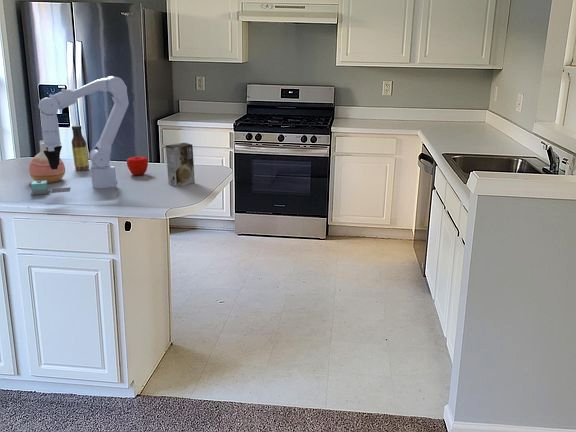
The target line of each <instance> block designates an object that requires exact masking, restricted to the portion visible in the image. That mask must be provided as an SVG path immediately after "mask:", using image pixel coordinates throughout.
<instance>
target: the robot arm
mask: <svg viewBox="0 0 576 432" xmlns="http://www.w3.org/2000/svg"><path fill="white" fill-rule="evenodd" d="M95 92H104V93H105V92H107V94H109V95H110V97H111V98H112V102H113V105H112V108H111V111H110V113H109V116H108V118H107V121H106V123H105V126H104V128H103V130H102V132H101V135H100V137H99V140H98V141H97V142H96V143H95V146H94V147H93V149H91V150H90V151H89V153H88V160H90V162H92V163H91V165H89V168H90V175H91V176H90V177H91V185H92V186H91V187H92V188H93V189H107V188H115V190H116V191H117V190H118V179H117V174H116V166H115V165H113V166H112V165H110V161H111V158H110V157H111V153H112V146H113V143H114V141H115V139H116V136H117V134H118V131H119V128H120V126H121V124H122V121H123V119H124V117H125V114H126V112H127V110H128V107H129V105H130V104H129V103H130V102H129V97H128V96H129V95H128V86H127V85H126V84H125V81H124V79H122V78H121V77H118V76H114V75H108V76H107V77H102V78H100V79H99V78H98V79H96V80H93V81H91V82H89V83H87V84H85V85H82V86H81V87H78V88H76V89H71V88H66V89H65V88H61V91H59V92H57V93H55V94H52V93H51V94H49V95H48V96H49V97H44V98H41V99H40V100H39V102H38V106H37V107H38V109H39V111H40V117H41V118H40V122H41V129H42V137H43V140H44V143H41V145H44V146H46V149H47V150H44V154H45V155H46V157H47V159H48V161H49V164H50V167H51V169H57V168H58V165H59V161H60V159H61V158H60V157H61V156H60V155H61V151H62V147H63V145H62V142H61V136H60V128H59V127H60V126H59V120H58V116H57V111H58V110H59V111H60V110H64V109H65V108H68V107H70V106H73V105H75V104H76V103H77V100H78V99H80V98H83V97H86V96H88V95H90V94H93V93H95Z"/></svg>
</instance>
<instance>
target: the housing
mask: <svg viewBox="0 0 576 432" xmlns="http://www.w3.org/2000/svg"><path fill="white" fill-rule="evenodd" d="M48 185H49V183H47V180H43V181H34V180H32V181H31V184H30V186H31V193H32V194H33V195H40V196H43V195H42V194H47V193H48V191H49V186H48Z"/></svg>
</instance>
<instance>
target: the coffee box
mask: <svg viewBox="0 0 576 432" xmlns="http://www.w3.org/2000/svg"><path fill="white" fill-rule="evenodd" d="M193 149H194V148H193V144H191V143H188V142H180V143H172V144H166V145H165V151H166V165H167V166H166V167H167V181H168V182H167V183H168V185H170V186H174V187H182V186H186V185H190V184H195V183H196V180H195V166H194V164H195V163H194V151H193Z"/></svg>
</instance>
